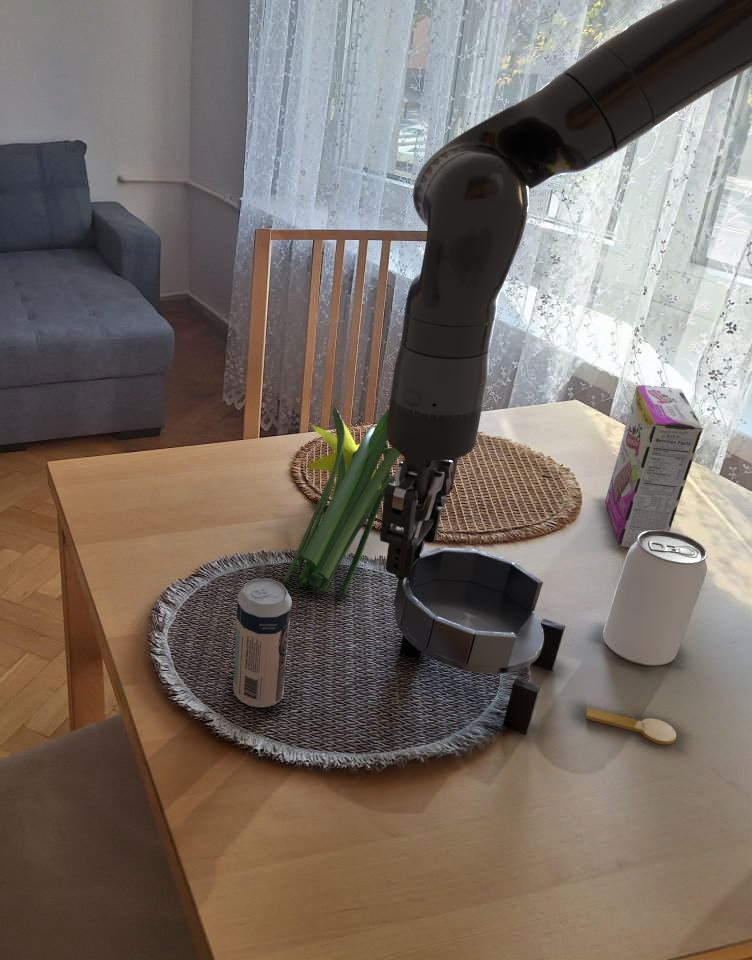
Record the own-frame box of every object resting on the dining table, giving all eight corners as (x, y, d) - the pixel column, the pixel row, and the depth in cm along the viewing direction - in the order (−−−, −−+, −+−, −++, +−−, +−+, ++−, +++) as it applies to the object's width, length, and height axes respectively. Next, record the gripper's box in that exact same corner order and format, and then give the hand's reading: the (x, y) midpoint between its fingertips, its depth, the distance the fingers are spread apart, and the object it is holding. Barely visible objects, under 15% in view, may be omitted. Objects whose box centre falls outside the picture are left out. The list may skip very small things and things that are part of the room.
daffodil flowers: (218, 572, 101) (322, 396, 121) (321, 646, 100) (408, 456, 120) (287, 504, 87) (391, 319, 107) (407, 589, 86) (489, 386, 107)
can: (681, 674, 82) (720, 571, 76) (605, 660, 84) (637, 558, 78) (668, 633, 87) (704, 533, 81) (597, 620, 89) (627, 522, 83)
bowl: (557, 615, 82) (581, 539, 78) (522, 695, 73) (548, 615, 69) (416, 566, 89) (431, 494, 85) (368, 633, 80) (382, 556, 76)
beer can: (292, 704, 80) (302, 601, 74) (245, 716, 79) (251, 612, 73) (270, 671, 84) (277, 571, 78) (225, 682, 83) (229, 581, 77)
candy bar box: (601, 501, 110) (635, 383, 102) (645, 507, 108) (683, 387, 100) (615, 548, 101) (653, 422, 93) (663, 555, 99) (707, 427, 91)
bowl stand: (554, 665, 84) (565, 625, 81) (525, 735, 76) (537, 692, 74) (421, 619, 90) (428, 580, 88) (383, 678, 83) (389, 638, 80)
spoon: (587, 701, 79) (586, 704, 79) (587, 721, 77) (586, 725, 77) (675, 723, 76) (673, 726, 76) (678, 745, 74) (676, 748, 74)
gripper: (455, 435, 67) (425, 607, 75) (504, 375, 77) (473, 532, 85) (362, 414, 71) (343, 580, 79) (421, 359, 81) (398, 511, 89)
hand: (411, 555), depth 82 cm, fingers open, 6 cm apart
